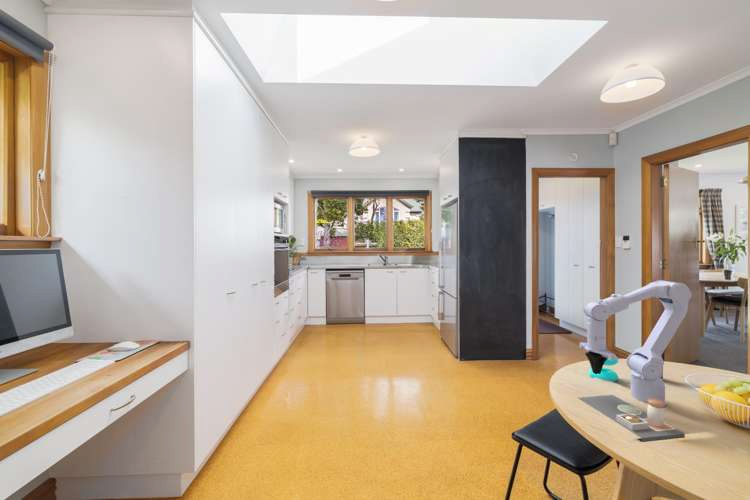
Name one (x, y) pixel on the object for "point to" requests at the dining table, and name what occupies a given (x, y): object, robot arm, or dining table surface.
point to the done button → (632, 418)
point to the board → (617, 412)
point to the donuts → (606, 372)
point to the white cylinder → (655, 412)
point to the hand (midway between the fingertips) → (596, 373)
